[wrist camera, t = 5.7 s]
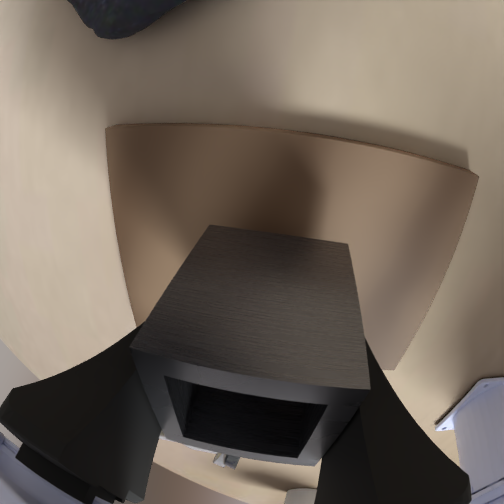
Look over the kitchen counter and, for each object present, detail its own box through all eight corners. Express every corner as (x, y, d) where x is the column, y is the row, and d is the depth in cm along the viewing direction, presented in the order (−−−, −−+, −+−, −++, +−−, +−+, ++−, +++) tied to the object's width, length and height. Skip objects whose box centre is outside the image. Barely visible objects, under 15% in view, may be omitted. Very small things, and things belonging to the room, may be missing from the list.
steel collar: (348, 243, 10) (370, 389, 5) (320, 341, 13) (314, 466, 8) (209, 224, 11) (128, 347, 6) (211, 323, 13) (166, 438, 8)
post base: (463, 166, 10) (525, 210, 6) (390, 352, 17) (401, 418, 12) (123, 123, 12) (50, 147, 8) (146, 313, 19) (112, 370, 14)
